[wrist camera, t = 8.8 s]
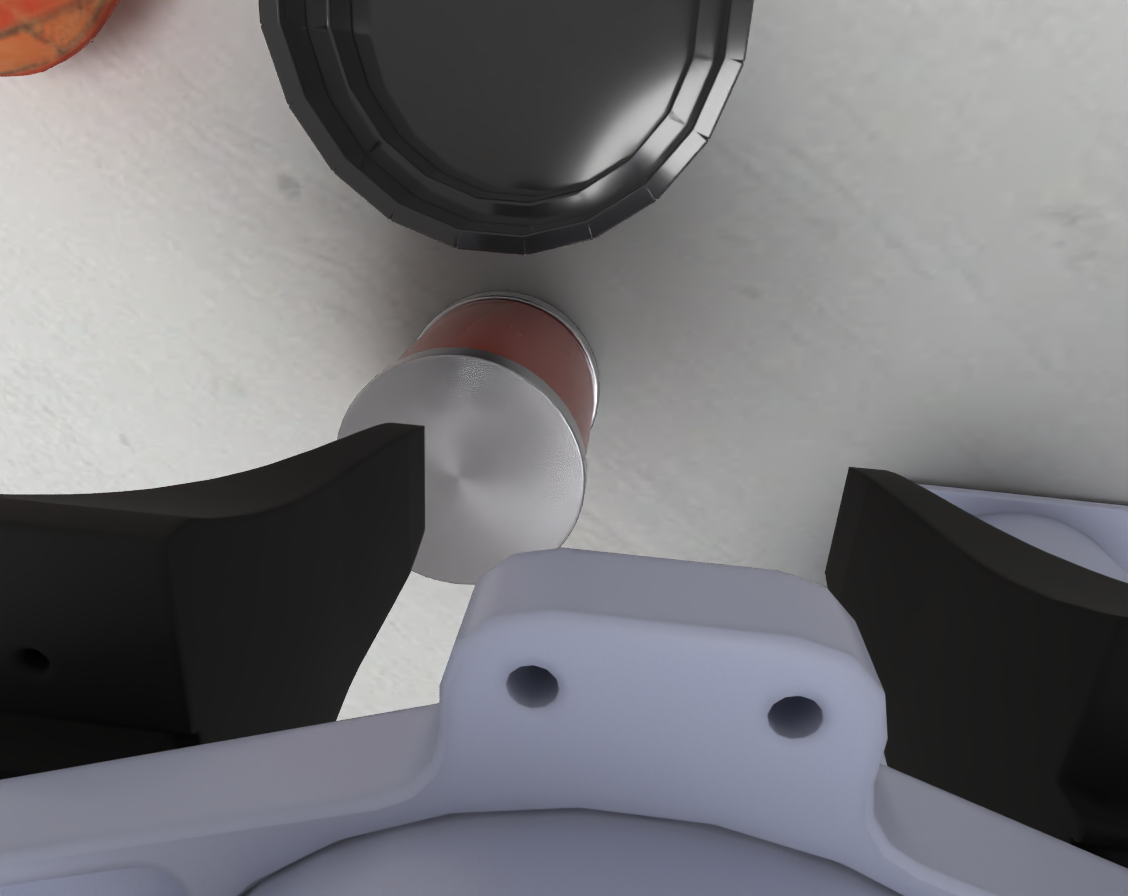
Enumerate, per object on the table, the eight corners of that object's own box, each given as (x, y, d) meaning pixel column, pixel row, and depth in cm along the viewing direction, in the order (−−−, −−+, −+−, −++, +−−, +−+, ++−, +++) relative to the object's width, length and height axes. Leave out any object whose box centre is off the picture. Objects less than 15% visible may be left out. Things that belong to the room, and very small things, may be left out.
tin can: (590, 481, 24) (574, 598, 18) (410, 462, 24) (339, 571, 18) (609, 300, 22) (596, 368, 16) (410, 281, 22) (328, 341, 16)
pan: (702, 248, 21) (713, 273, 18) (327, 214, 21) (273, 232, 18) (772, -235, 17) (800, -314, 14) (307, -262, 17) (234, -343, 14)
